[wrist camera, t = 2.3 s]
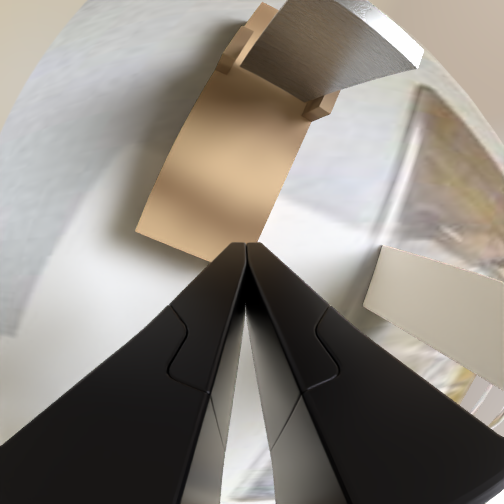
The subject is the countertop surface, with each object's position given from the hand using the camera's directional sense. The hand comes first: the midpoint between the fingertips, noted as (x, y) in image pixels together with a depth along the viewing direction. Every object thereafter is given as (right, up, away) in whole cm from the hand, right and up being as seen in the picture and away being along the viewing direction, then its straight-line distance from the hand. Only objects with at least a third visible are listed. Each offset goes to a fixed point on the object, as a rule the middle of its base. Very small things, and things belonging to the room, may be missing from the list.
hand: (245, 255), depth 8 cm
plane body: (-1, +9, +11) cm, 14 cm away
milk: (+14, -3, +18) cm, 23 cm away
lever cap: (+1, +11, +8) cm, 13 cm away
